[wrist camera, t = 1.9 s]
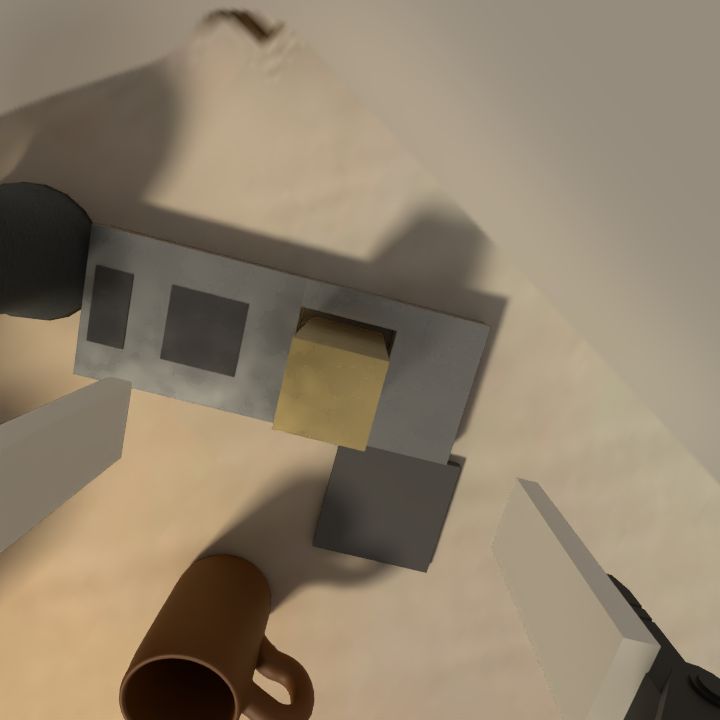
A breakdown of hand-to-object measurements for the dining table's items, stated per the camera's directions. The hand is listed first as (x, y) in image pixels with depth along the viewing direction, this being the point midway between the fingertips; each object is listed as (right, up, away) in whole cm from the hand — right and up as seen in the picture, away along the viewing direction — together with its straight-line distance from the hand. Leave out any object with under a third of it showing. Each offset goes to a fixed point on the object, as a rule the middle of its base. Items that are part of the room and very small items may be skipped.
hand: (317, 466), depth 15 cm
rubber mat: (+3, -7, +19) cm, 21 cm away
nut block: (0, +4, +17) cm, 17 cm away
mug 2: (-7, -16, +21) cm, 28 cm away
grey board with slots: (-4, +5, +17) cm, 18 cm away
